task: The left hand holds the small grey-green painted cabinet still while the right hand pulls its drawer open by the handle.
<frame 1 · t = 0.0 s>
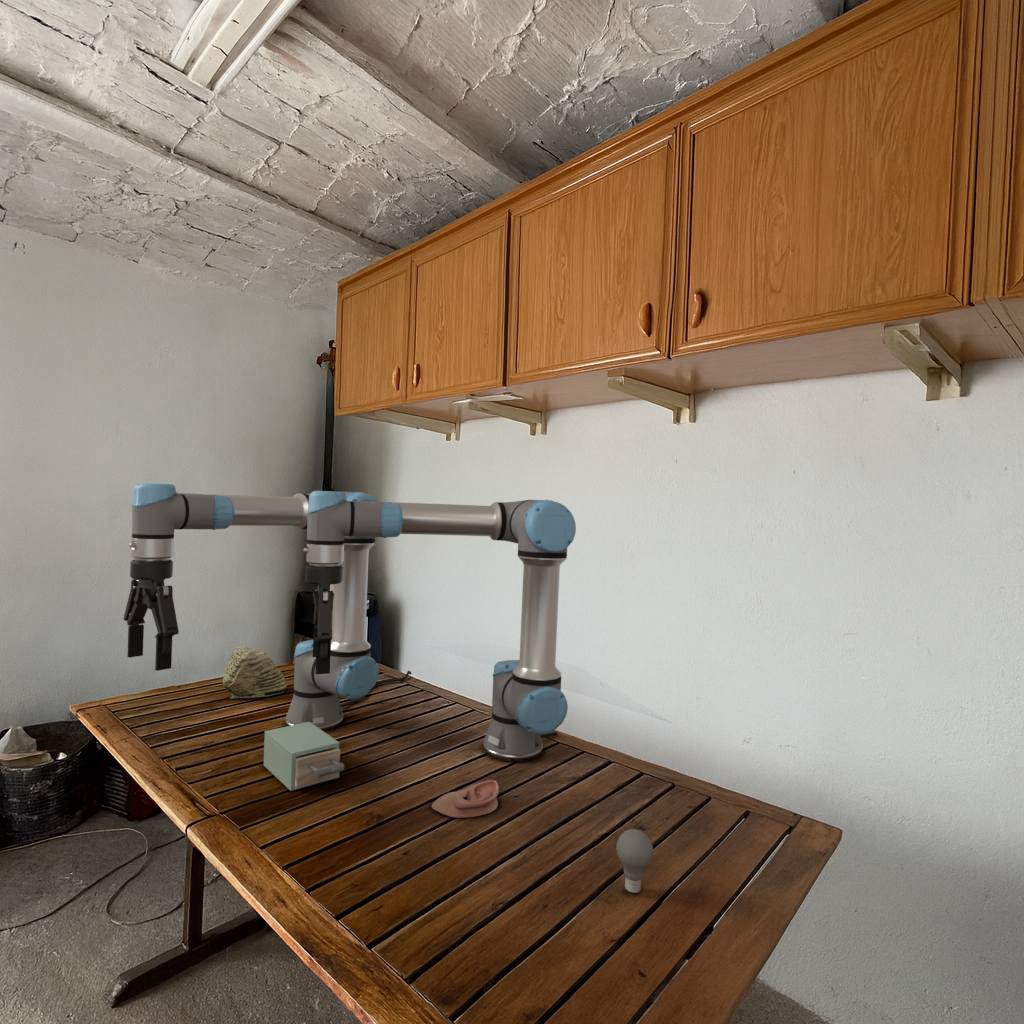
left hand: (148, 662, 129), 28 cm above the table, tool pointing down, fingers open, 13 cm apart
right hand: (320, 664, 133), 28 cm above the table, tool pointing down, fingers open, 13 cm apart
fossil: (254, 694, 198), on the table
anatomical model: (465, 806, 132), on the table
drawer: (310, 762, 141), point 4 cm above the table, slide at 0.6 cm
light bulb: (632, 891, 106), on the table
cabinet: (300, 771, 145), on the table
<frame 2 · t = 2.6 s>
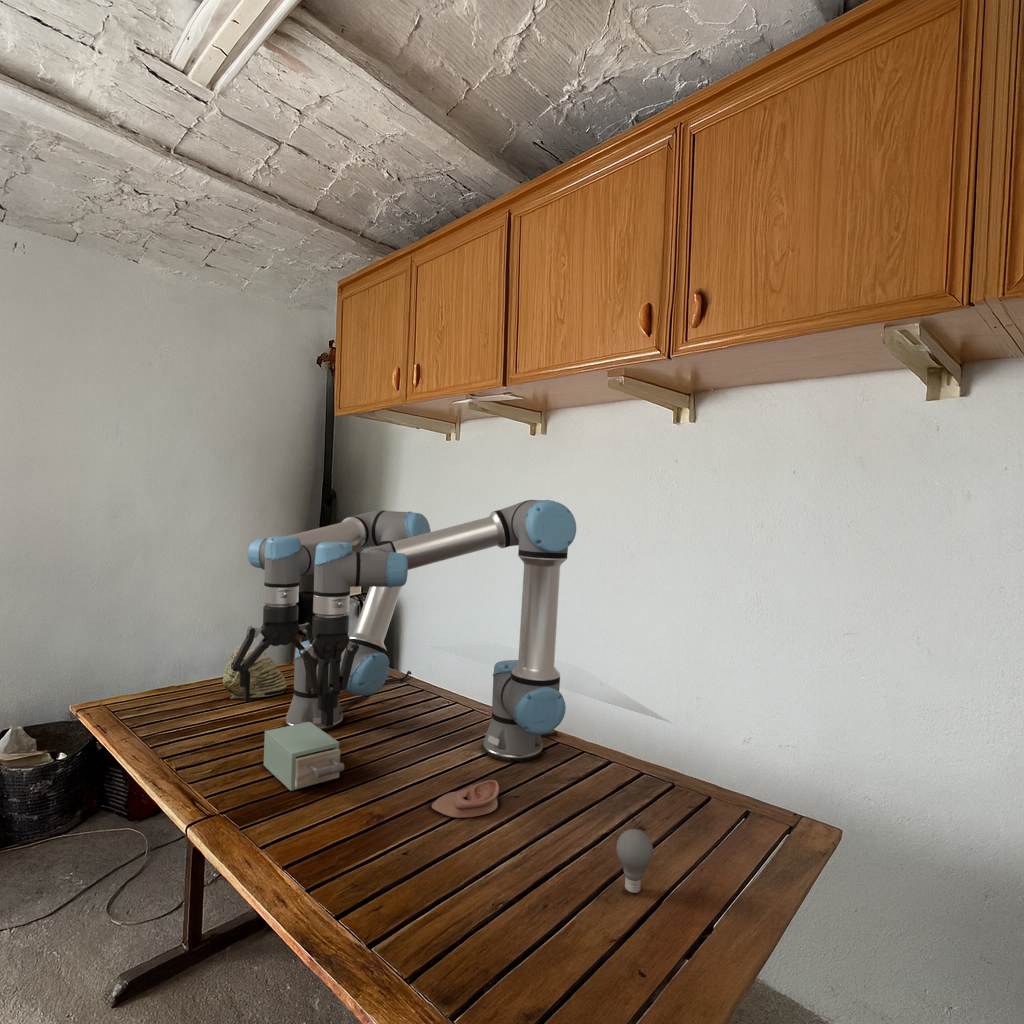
left hand: (278, 696, 145), 17 cm above the table, tool pointing down, fingers open, 13 cm apart
right hand: (326, 724, 136), 15 cm above the table, tool pointing down, fingers closed
nothing on the table moved.
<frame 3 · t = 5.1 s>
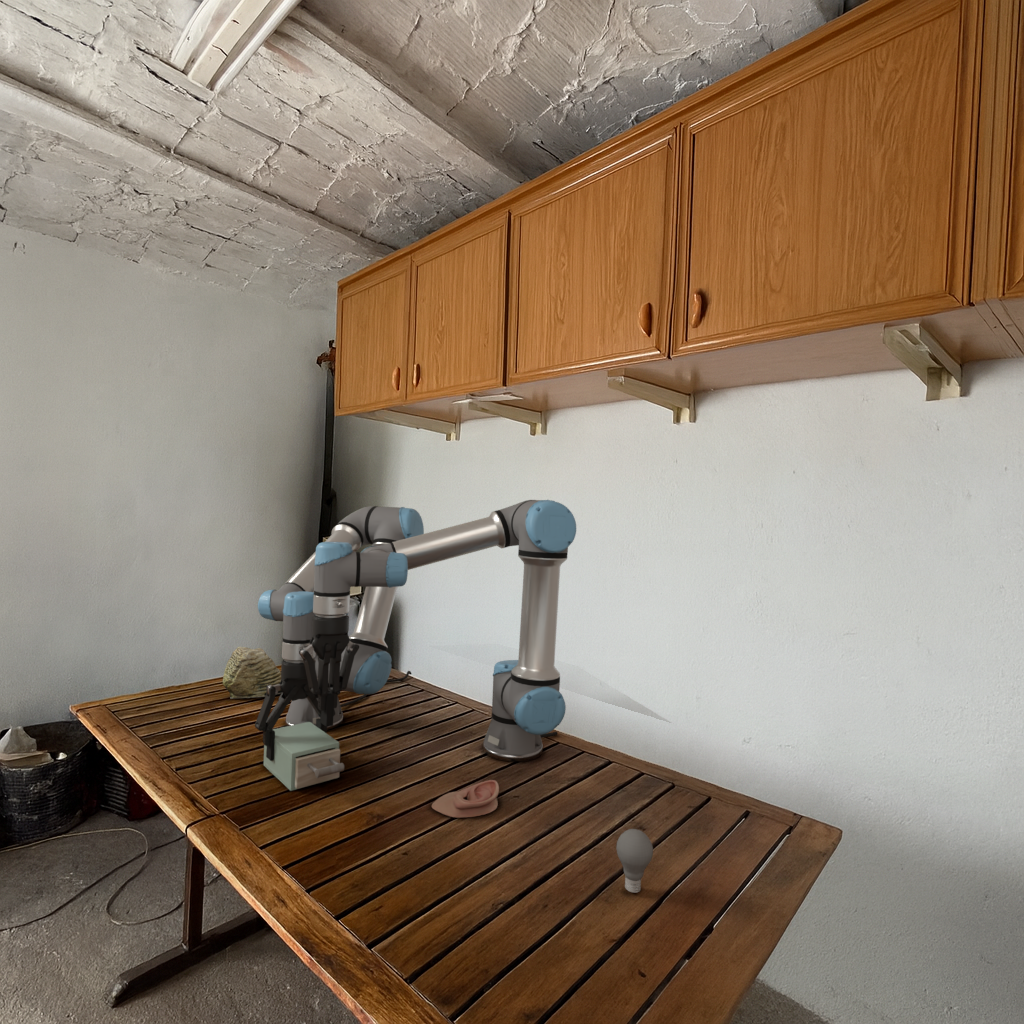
left hand: (295, 752, 148), 3 cm above the table, tool pointing down, fingers closed on cabinet, 11 cm apart
right hand: (326, 724, 136), 15 cm above the table, tool pointing down, fingers closed
cabinet: (300, 771, 145), on the table, touching left hand
everything else where it was.
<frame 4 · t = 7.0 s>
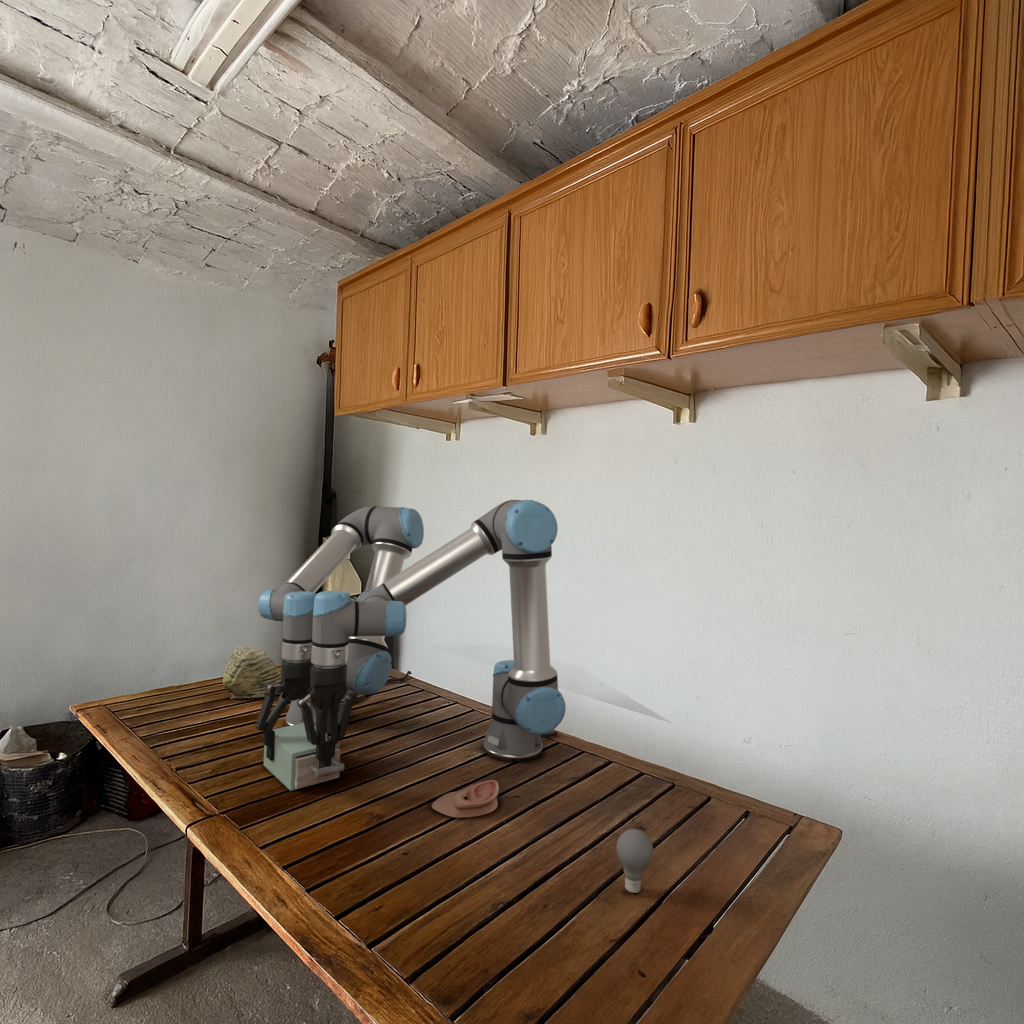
left hand: (295, 752, 148), 3 cm above the table, tool pointing down, fingers closed on cabinet, 11 cm apart
right hand: (324, 773, 136), 4 cm above the table, tool pointing down, fingers closed
drawer: (310, 762, 141), point 4 cm above the table, slide at 0.6 cm, touching right hand
cabinet: (300, 771, 145), on the table, touching left hand
everything else where it was.
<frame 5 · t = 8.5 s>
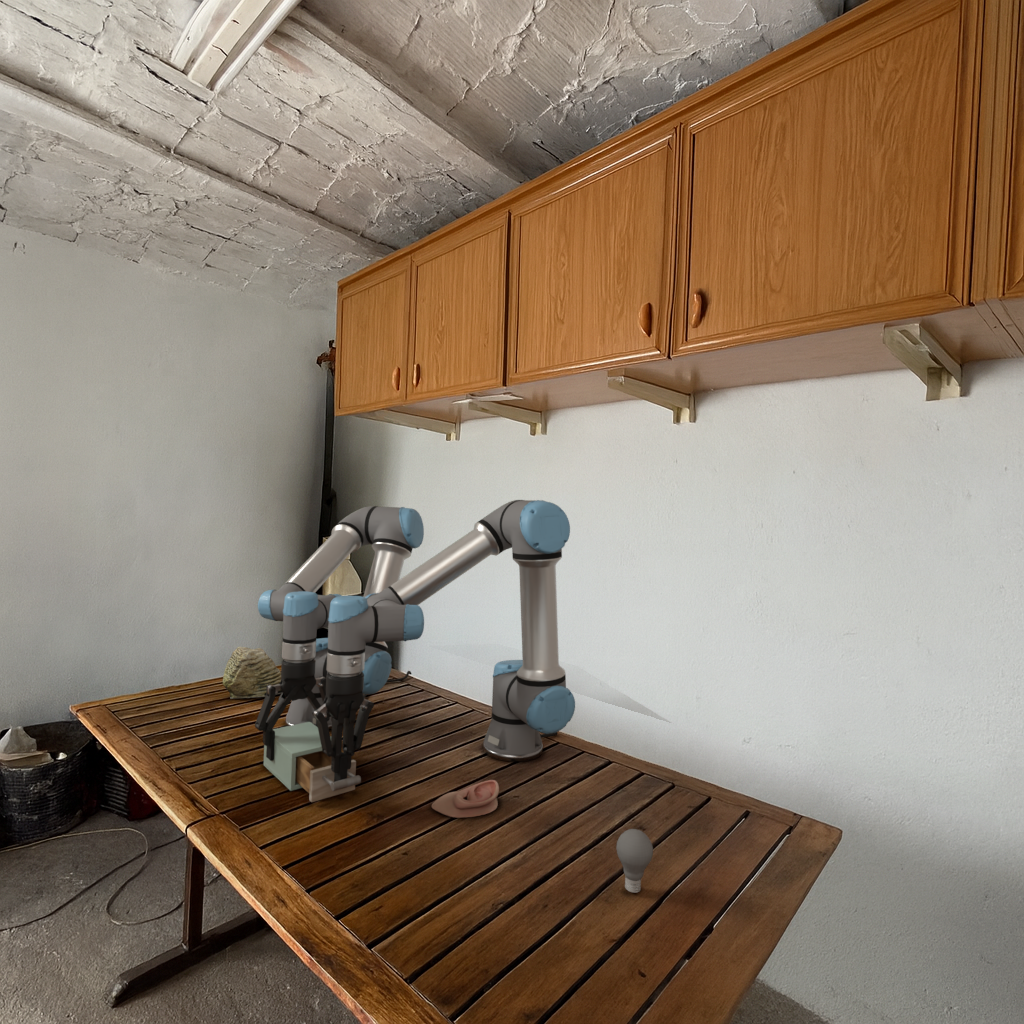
left hand: (295, 752, 148), 3 cm above the table, tool pointing down, fingers closed on cabinet, 11 cm apart
right hand: (340, 785, 130), 4 cm above the table, tool pointing down, fingers closed
drawer: (325, 773, 136), point 4 cm above the table, slide at 8.0 cm, touching right hand
cabinet: (300, 771, 145), on the table, touching left hand
everything else where it was.
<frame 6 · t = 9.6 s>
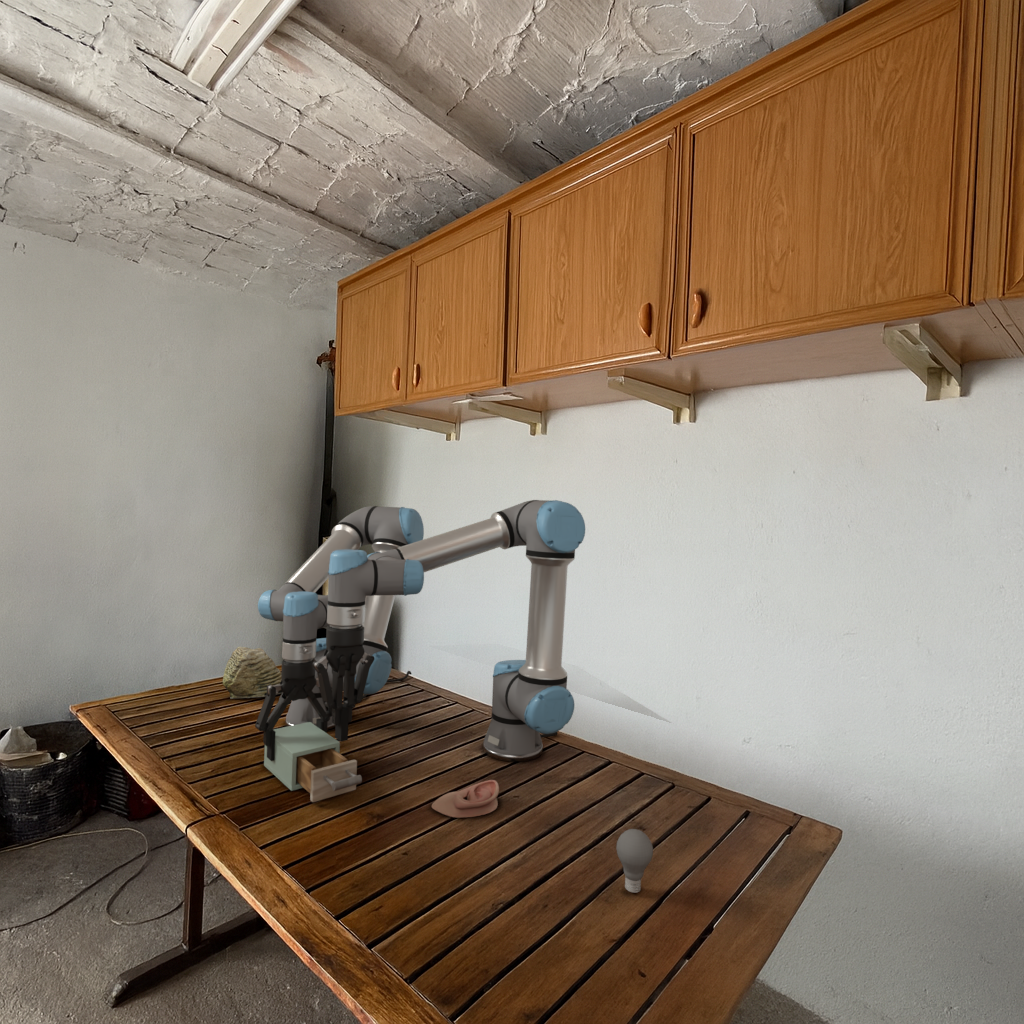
left hand: (295, 752, 148), 3 cm above the table, tool pointing down, fingers closed on cabinet, 11 cm apart
right hand: (341, 738, 131), 14 cm above the table, tool pointing down, fingers closed
drawer: (326, 773, 136), point 4 cm above the table, slide at 8.1 cm
cabinet: (300, 771, 145), on the table, touching left hand
everything else where it was.
when the left hand's fingers open (3 cm above the table, at t = 10.4 s): cabinet stays where it is, on the table.
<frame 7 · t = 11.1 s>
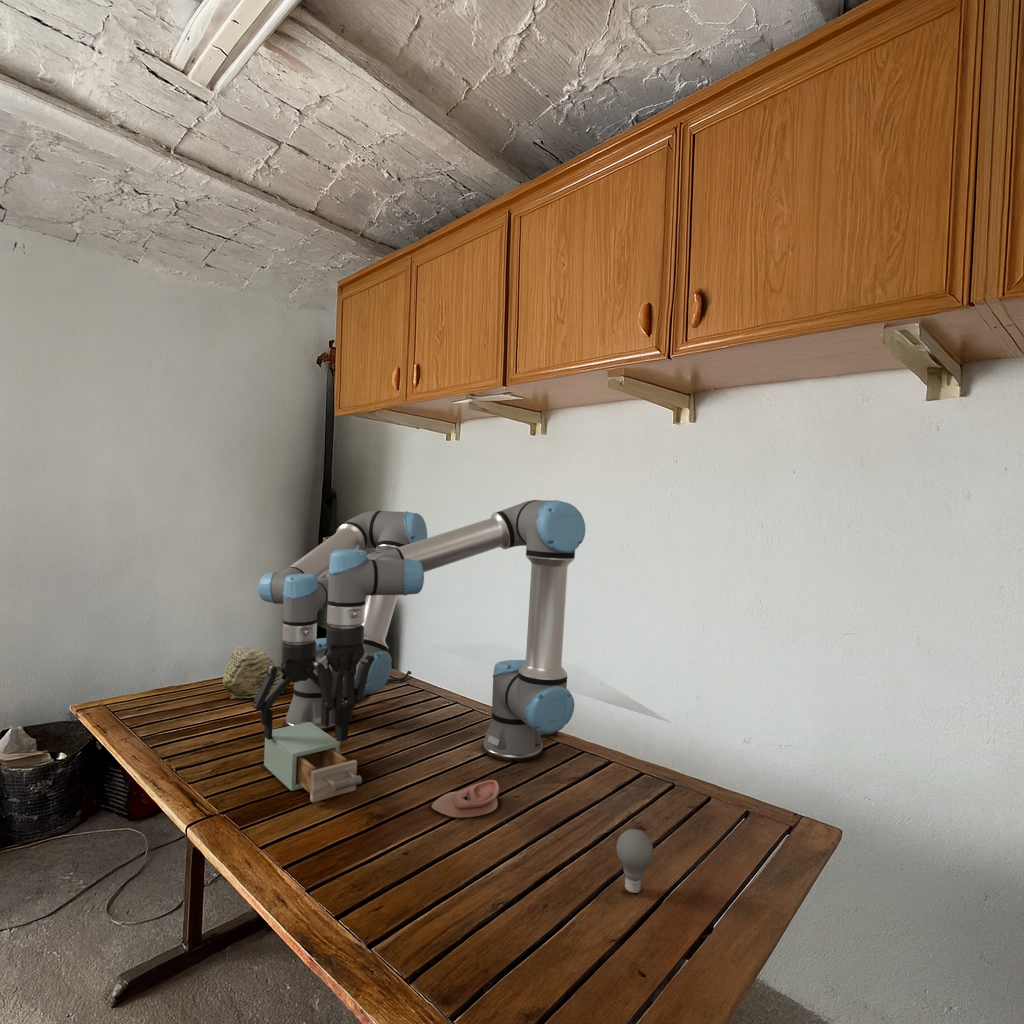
left hand: (297, 731, 148), 8 cm above the table, tool pointing down, fingers open, 13 cm apart
right hand: (341, 738, 131), 14 cm above the table, tool pointing down, fingers closed
cabinet: (300, 771, 145), on the table
everything else where it was.
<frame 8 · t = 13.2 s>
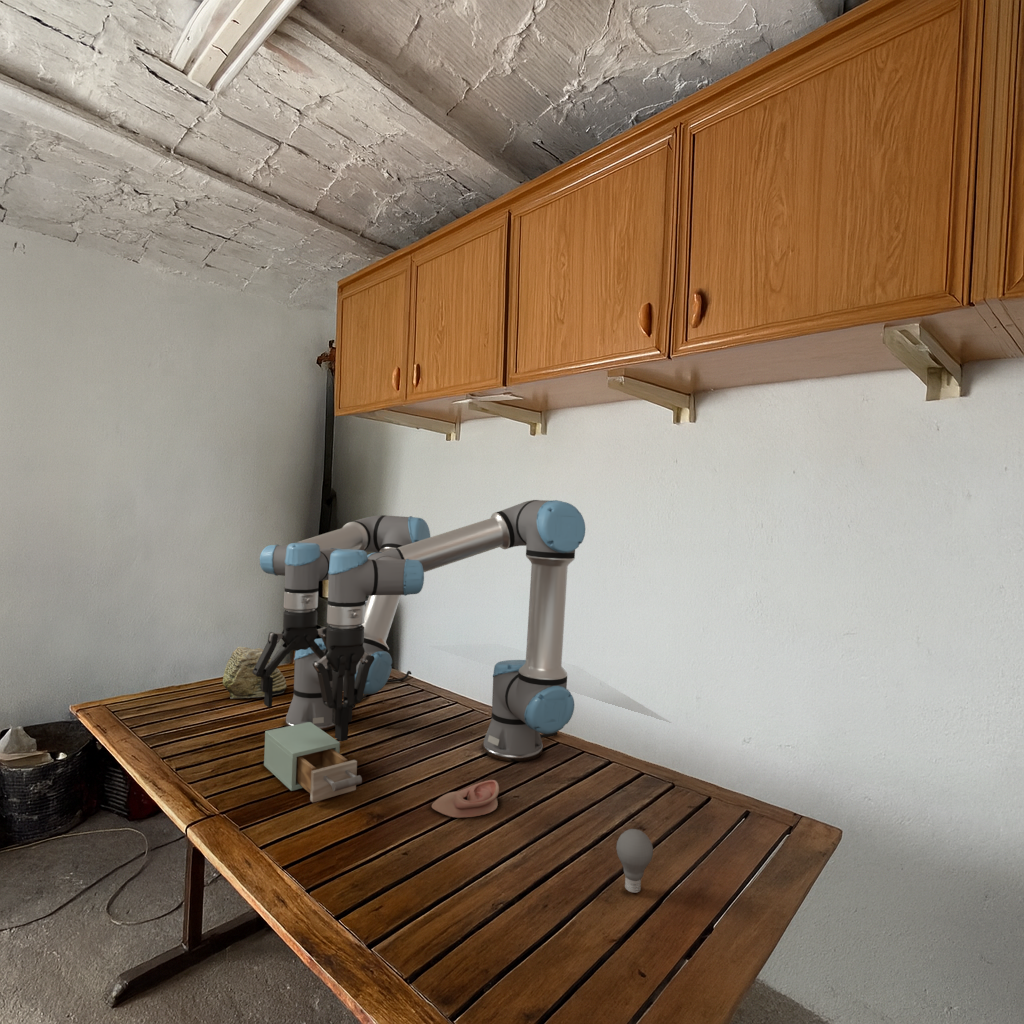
left hand: (297, 700, 147), 16 cm above the table, tool pointing down, fingers open, 13 cm apart
right hand: (341, 738, 131), 14 cm above the table, tool pointing down, fingers closed
nothing on the table moved.
at the end: drawer slide at 8.1 cm; cabinet tilted 0°; cabinet never tilted more than 1° during the clip; cabinet moved 0.1 cm from its start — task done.
